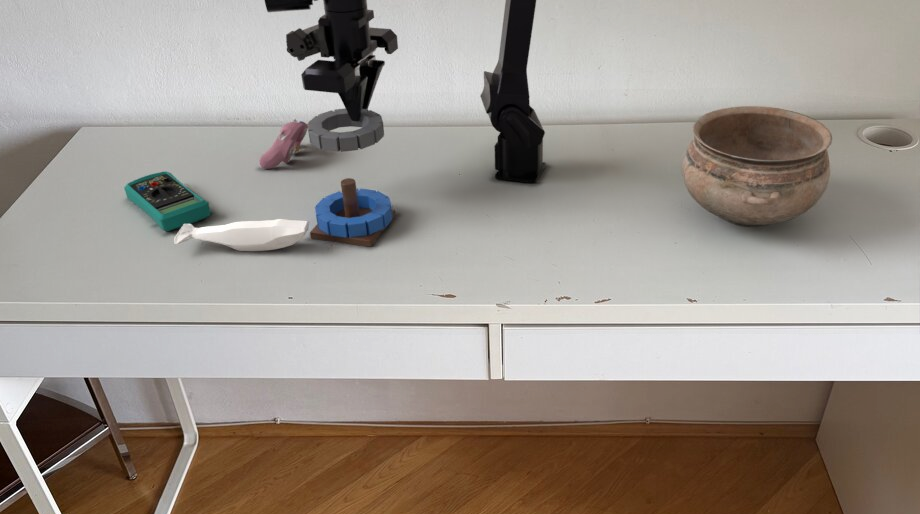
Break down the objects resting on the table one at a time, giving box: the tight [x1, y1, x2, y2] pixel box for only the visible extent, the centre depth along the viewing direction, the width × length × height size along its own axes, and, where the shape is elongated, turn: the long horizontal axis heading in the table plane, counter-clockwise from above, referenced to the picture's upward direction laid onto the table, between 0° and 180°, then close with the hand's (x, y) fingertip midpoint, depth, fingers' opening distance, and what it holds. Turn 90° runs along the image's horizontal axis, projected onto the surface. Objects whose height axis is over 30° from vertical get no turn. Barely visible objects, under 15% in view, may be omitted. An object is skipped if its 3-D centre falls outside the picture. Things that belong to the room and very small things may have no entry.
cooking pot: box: [681, 105, 833, 228], centre depth 118 cm, size 25×19×12 cm
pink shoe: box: [258, 118, 308, 170], centre depth 140 cm, size 10×5×7 cm, turn 168°
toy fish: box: [173, 218, 310, 252], centre depth 118 cm, size 6×18×4 cm, turn 85°
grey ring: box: [307, 107, 385, 153], centre depth 123 cm, size 10×10×2 cm
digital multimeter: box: [123, 171, 212, 232], centre depth 129 cm, size 7×15×3 cm, turn 39°
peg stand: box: [309, 177, 397, 248], centre depth 121 cm, size 9×9×7 cm
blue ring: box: [314, 188, 394, 238], centre depth 122 cm, size 10×10×2 cm
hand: (358, 117), depth 126 cm, fingers closed on grey ring, 2 cm apart
